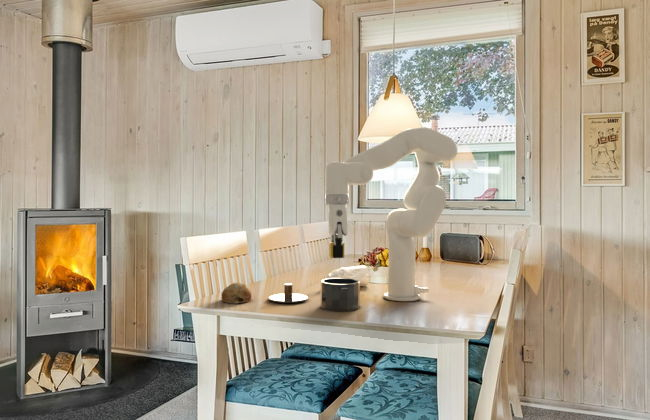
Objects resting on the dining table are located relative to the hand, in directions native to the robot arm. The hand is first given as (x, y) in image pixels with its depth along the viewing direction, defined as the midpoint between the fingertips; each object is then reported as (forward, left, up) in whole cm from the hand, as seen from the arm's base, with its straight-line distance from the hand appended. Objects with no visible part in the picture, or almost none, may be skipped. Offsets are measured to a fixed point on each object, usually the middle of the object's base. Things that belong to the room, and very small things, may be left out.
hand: (336, 256), depth 169 cm
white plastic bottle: (-10, -34, -17) cm, 40 cm away
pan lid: (+15, -12, -16) cm, 25 cm away
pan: (-1, 0, -17) cm, 17 cm away
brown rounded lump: (+33, -13, -17) cm, 39 cm away
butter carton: (0, 0, 0) cm, 0 cm away
